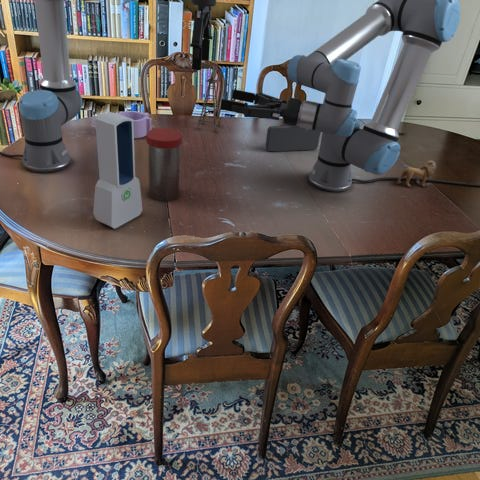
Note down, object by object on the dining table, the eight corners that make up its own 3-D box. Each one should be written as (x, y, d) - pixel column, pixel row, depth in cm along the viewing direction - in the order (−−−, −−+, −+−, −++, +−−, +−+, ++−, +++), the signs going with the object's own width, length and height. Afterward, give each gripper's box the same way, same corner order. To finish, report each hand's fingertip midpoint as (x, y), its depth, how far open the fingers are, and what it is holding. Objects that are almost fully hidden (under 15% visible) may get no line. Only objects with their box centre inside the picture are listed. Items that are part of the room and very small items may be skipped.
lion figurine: (423, 179, 178) (431, 157, 173) (433, 186, 174) (440, 163, 169) (391, 182, 173) (398, 160, 168) (400, 189, 169) (407, 166, 164)
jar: (145, 189, 151) (144, 131, 140) (173, 186, 154) (174, 129, 144) (153, 202, 144) (153, 142, 133) (182, 199, 148) (184, 140, 137)
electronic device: (112, 230, 128) (105, 125, 112) (93, 221, 131) (83, 117, 115) (143, 213, 137) (140, 113, 121) (124, 205, 140) (119, 106, 124)
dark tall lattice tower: (215, 132, 200) (220, 59, 184) (196, 129, 201) (199, 56, 185) (220, 125, 207) (225, 54, 191) (202, 122, 208) (205, 52, 192)
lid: (142, 137, 141) (142, 129, 140) (175, 134, 145) (175, 127, 144) (152, 150, 134) (151, 142, 132) (186, 147, 138) (186, 139, 137)
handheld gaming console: (315, 147, 196) (319, 124, 190) (317, 149, 194) (322, 126, 188) (264, 149, 189) (267, 125, 183) (266, 152, 187) (269, 127, 181)
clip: (101, 139, 182) (100, 121, 178) (98, 128, 192) (97, 111, 188) (152, 137, 188) (152, 120, 184) (147, 126, 198) (147, 110, 194)
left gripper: (209, -5, 127) (205, 75, 138) (223, -12, 148) (218, 58, 159) (181, -8, 127) (180, 72, 139) (199, -15, 148) (197, 55, 160)
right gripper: (291, 138, 122) (214, 122, 125) (301, 115, 144) (235, 102, 146) (297, 110, 118) (217, 94, 121) (307, 91, 140) (238, 77, 142)
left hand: (200, 65), depth 149 cm, fingers open, 13 cm apart
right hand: (227, 98), depth 134 cm, fingers open, 13 cm apart
